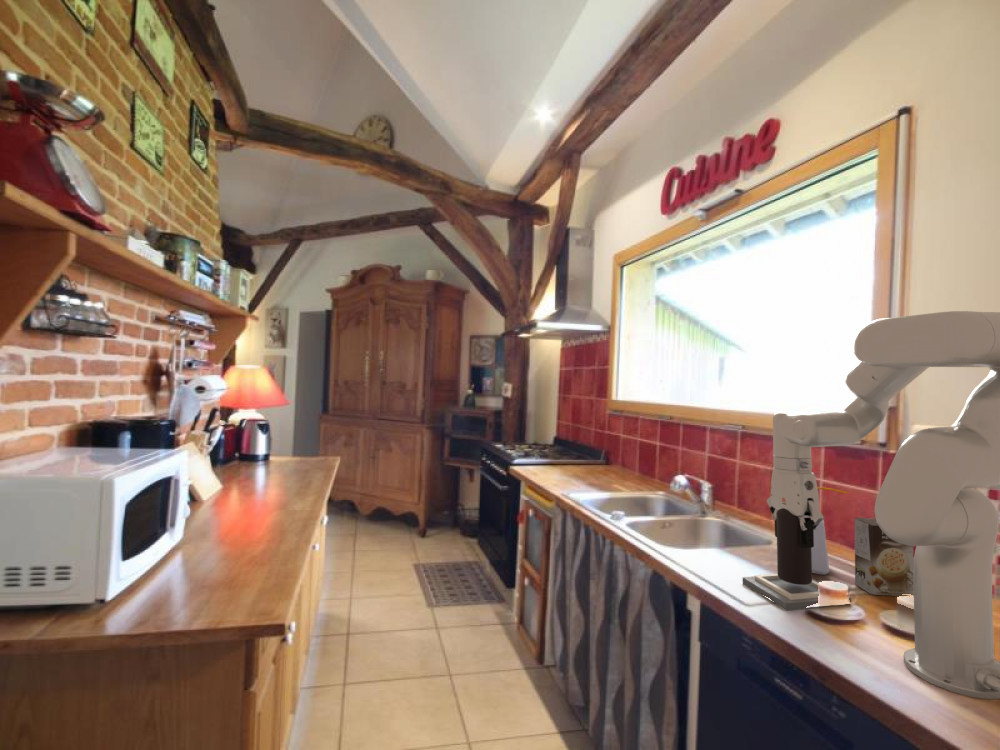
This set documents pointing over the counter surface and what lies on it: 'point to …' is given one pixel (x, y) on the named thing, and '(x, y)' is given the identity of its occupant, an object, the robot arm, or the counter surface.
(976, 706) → the counter surface
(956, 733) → the counter surface
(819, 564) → the soap bottle
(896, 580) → the cookie box
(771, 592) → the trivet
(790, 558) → the vinegar
